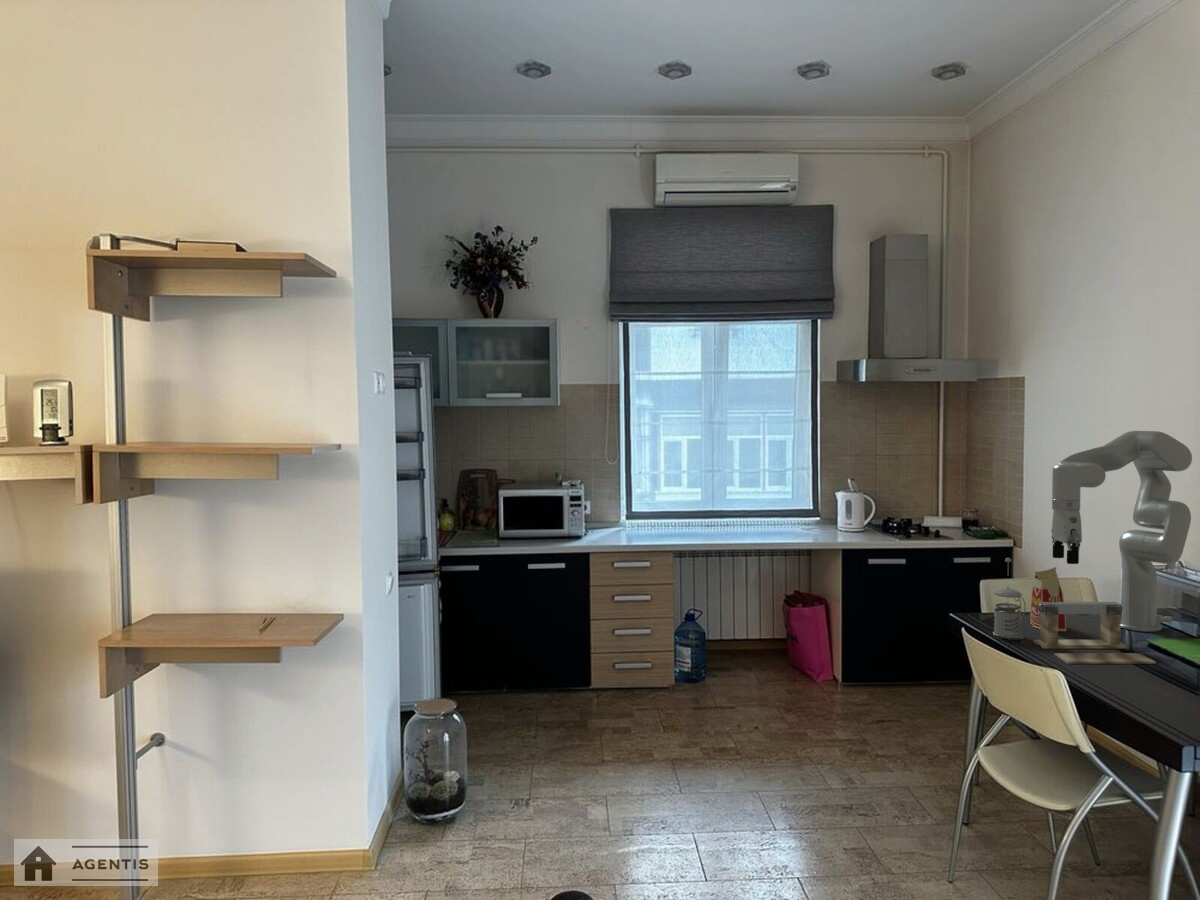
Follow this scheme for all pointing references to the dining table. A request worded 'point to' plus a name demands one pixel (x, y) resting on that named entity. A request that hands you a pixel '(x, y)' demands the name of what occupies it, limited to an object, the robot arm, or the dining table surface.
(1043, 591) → the milk carton
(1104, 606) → the rail
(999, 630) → the french press
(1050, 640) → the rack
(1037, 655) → the dining table surface
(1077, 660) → the wooden board
